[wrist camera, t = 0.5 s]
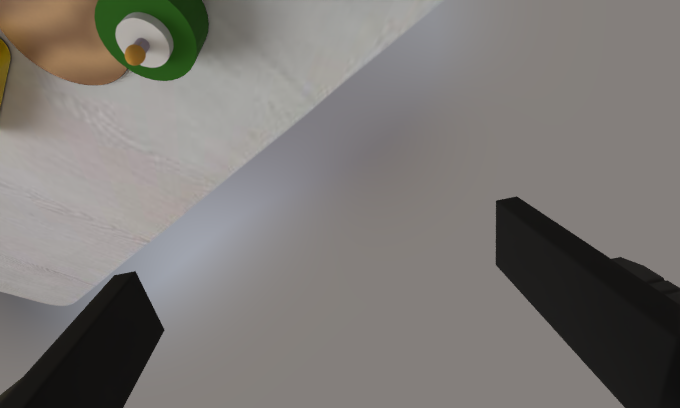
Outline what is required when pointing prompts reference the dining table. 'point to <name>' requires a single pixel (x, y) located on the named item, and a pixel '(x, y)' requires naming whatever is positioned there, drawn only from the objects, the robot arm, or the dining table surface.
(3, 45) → the element tile
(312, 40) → the dining table surface
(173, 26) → the candle
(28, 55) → the cork trivet
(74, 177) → the dining table surface
